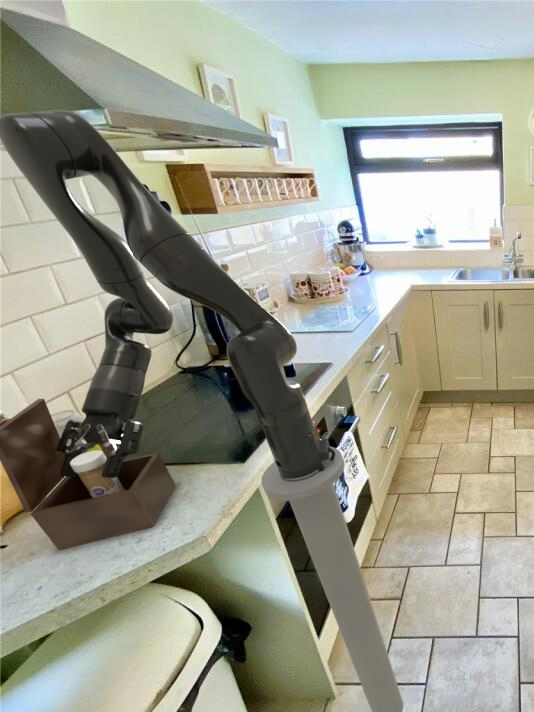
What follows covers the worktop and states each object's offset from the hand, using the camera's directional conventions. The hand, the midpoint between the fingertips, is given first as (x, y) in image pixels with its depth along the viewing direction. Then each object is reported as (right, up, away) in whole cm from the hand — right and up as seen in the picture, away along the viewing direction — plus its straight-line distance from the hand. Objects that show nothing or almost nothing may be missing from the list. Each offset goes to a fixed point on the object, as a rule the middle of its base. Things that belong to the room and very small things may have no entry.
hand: (88, 477), depth 77 cm
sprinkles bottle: (0, -8, +6) cm, 10 cm away
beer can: (-18, -3, +19) cm, 27 cm away
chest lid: (-6, +5, -3) cm, 8 cm away
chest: (+1, -9, +6) cm, 11 cm away
